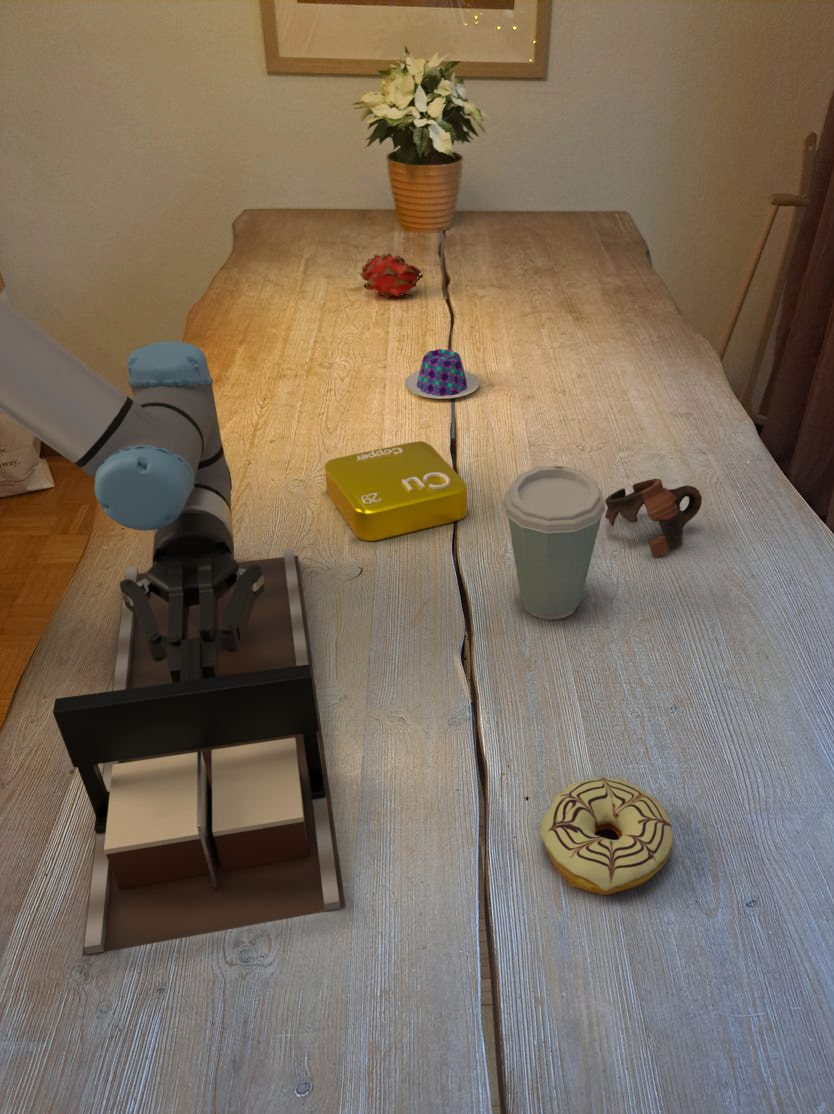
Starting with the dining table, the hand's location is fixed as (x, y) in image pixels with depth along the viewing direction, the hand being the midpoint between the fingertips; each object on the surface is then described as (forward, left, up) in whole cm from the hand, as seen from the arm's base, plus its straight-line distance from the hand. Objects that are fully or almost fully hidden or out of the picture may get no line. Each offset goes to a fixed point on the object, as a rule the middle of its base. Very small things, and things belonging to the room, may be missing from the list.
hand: (193, 702), depth 75 cm
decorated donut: (+33, +6, -13) cm, 36 cm away
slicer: (+2, -4, -11) cm, 12 cm away
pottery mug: (+29, +56, -13) cm, 64 cm away
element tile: (-4, +53, -13) cm, 54 cm away
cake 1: (-2, -5, -11) cm, 13 cm away
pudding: (-10, +89, -13) cm, 90 cm away
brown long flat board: (-6, +10, -12) cm, 17 cm away
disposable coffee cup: (+20, +38, -13) cm, 45 cm away
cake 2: (+5, -1, -11) cm, 12 cm away
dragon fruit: (-33, +126, -13) cm, 131 cm away
